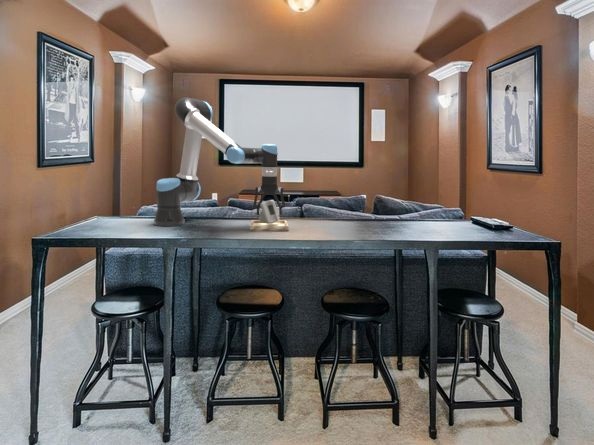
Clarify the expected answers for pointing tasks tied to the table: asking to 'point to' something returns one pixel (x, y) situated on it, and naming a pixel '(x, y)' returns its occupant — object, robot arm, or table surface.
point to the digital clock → (268, 212)
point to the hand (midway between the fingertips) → (269, 221)
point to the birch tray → (269, 226)
